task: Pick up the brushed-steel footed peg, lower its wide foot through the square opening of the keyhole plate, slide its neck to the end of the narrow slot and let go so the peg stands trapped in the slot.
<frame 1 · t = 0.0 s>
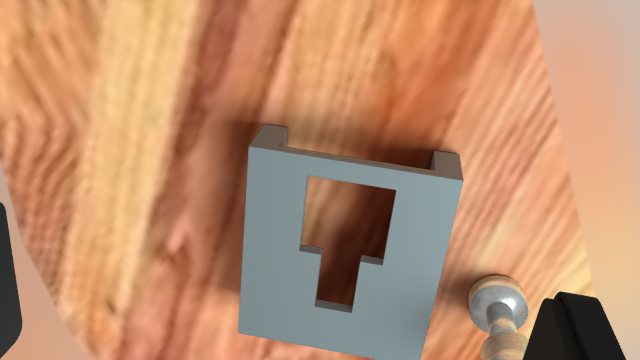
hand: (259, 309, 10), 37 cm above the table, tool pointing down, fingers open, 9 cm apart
keyhole plate: (346, 233, 52), on the table
steel peg: (496, 297, 52), on the table
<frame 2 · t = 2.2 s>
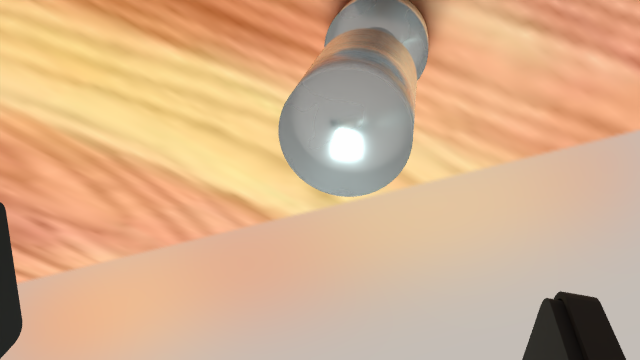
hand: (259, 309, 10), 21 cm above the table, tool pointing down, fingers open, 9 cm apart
steel peg: (378, 41, 29), on the table
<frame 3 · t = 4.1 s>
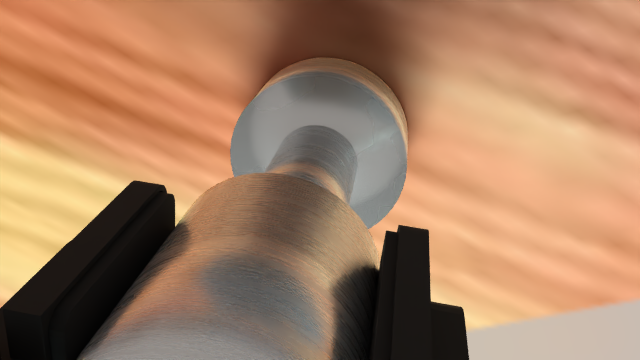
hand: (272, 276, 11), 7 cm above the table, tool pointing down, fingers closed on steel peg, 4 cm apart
steel peg: (327, 136, 18), on the table, touching gripper
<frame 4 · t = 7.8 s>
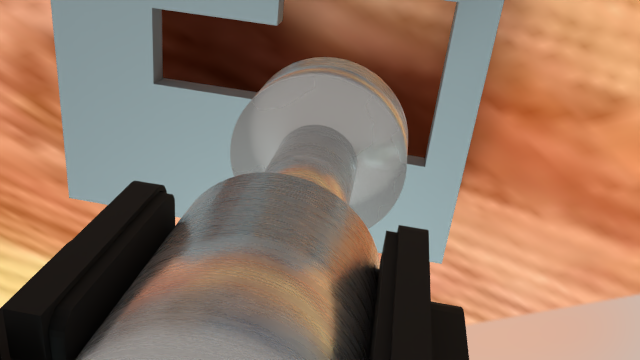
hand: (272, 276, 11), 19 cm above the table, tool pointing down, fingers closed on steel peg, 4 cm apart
keyhole plate: (285, 37, 28), on the table
steel peg: (327, 136, 18), point 12 cm above the table, touching gripper
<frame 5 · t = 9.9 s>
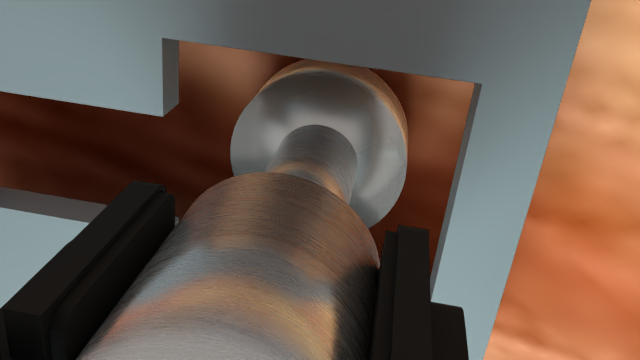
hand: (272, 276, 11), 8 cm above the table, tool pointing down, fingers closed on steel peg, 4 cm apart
keyhole plate: (206, 109, 19), on the table
steel peg: (327, 136, 18), point 1 cm above the table, touching gripper
when the fingers open (8 cm above the table, at t = 11.7 s): steel peg stays where it is, on the table.
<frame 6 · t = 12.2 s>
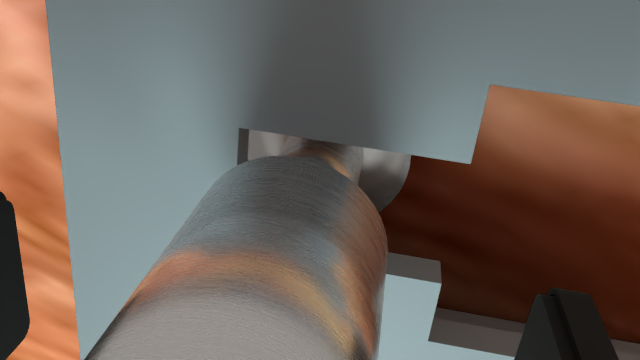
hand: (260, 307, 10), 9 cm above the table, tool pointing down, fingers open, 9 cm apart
keyhole plate: (426, 143, 18), on the table
steel peg: (333, 127, 18), on the table
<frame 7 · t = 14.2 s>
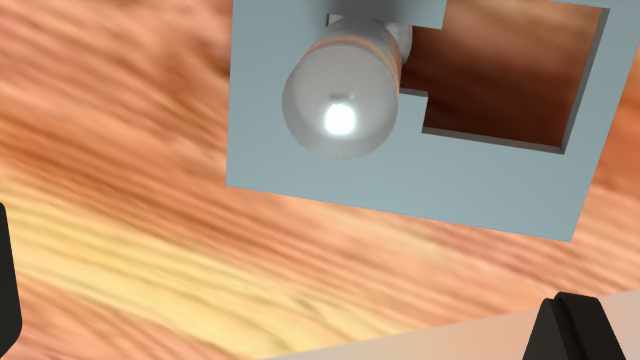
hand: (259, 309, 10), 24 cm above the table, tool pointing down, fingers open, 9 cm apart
keyhole plate: (420, 39, 31), on the table
steel peg: (367, 31, 32), on the table
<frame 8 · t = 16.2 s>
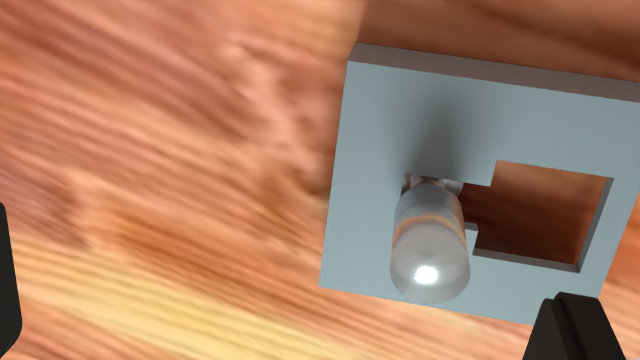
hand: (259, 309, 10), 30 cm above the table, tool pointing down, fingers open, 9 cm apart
keyhole plate: (468, 174, 41), on the table
steel peg: (426, 167, 41), on the table
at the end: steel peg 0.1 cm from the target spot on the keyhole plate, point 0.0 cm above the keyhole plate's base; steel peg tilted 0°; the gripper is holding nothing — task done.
